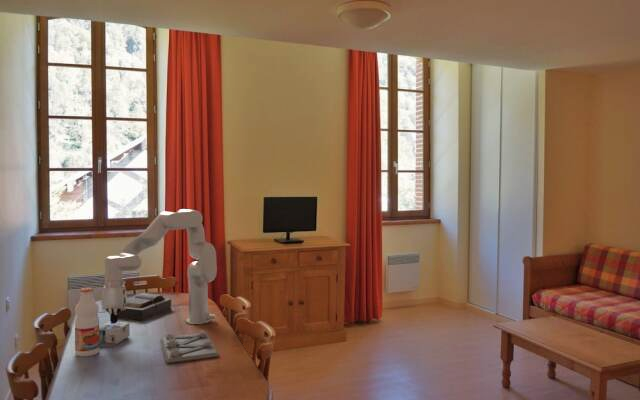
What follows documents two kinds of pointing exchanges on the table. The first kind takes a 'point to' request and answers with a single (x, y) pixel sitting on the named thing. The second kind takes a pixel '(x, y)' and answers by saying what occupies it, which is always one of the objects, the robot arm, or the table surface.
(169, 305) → the dark grey open box
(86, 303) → the fruit juice
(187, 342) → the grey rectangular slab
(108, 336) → the light bulb box
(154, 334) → the table surface
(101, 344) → the mat
